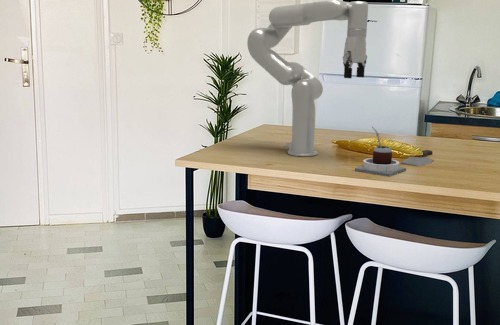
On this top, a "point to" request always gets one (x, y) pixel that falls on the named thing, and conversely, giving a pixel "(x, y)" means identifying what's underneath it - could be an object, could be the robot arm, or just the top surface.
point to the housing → (380, 168)
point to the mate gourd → (381, 153)
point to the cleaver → (419, 159)
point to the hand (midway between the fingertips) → (354, 77)
